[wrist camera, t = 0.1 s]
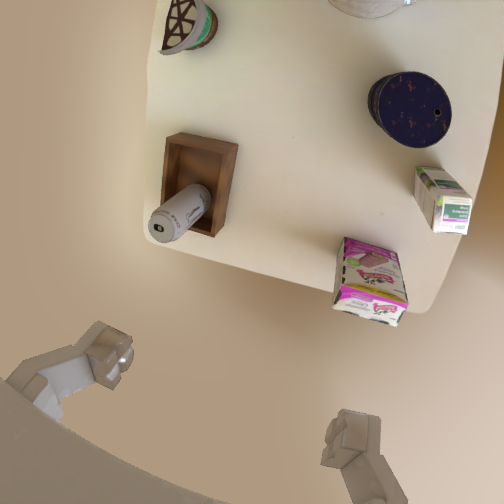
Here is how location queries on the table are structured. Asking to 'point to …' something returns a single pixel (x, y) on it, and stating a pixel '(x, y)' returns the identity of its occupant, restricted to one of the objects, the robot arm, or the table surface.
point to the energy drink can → (179, 213)
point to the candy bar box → (369, 283)
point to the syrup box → (442, 201)
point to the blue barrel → (411, 108)
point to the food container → (188, 26)
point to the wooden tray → (200, 174)
